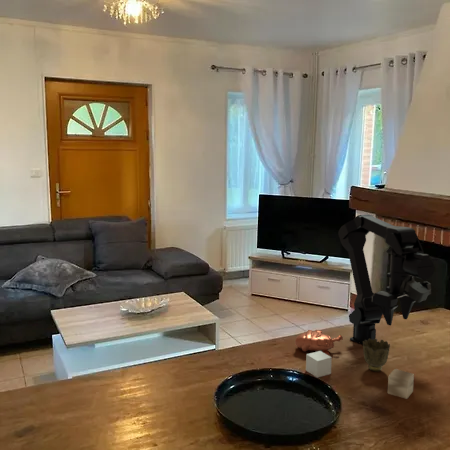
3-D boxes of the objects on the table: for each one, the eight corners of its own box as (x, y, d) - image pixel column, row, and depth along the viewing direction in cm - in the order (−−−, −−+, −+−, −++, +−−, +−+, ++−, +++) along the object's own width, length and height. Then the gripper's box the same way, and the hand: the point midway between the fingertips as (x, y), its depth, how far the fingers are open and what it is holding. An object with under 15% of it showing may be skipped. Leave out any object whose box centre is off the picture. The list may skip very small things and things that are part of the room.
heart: (304, 340, 149) (349, 336, 153) (288, 328, 160) (330, 325, 164) (303, 359, 149) (348, 355, 153) (288, 346, 161) (330, 342, 165)
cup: (358, 371, 142) (360, 345, 140) (364, 361, 148) (365, 336, 147) (385, 377, 138) (387, 350, 137) (390, 367, 145) (392, 341, 143)
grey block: (305, 370, 143) (306, 354, 142) (319, 367, 145) (320, 350, 144) (316, 377, 138) (317, 361, 137) (331, 374, 141) (331, 357, 140)
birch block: (387, 393, 130) (388, 375, 129) (393, 386, 134) (394, 368, 133) (406, 399, 127) (408, 381, 126) (412, 391, 131) (414, 373, 130)
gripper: (407, 282, 133) (403, 337, 135) (443, 271, 144) (439, 322, 147) (372, 273, 141) (369, 326, 144) (408, 264, 153) (405, 312, 155)
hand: (397, 322), depth 147 cm, fingers open, 8 cm apart
